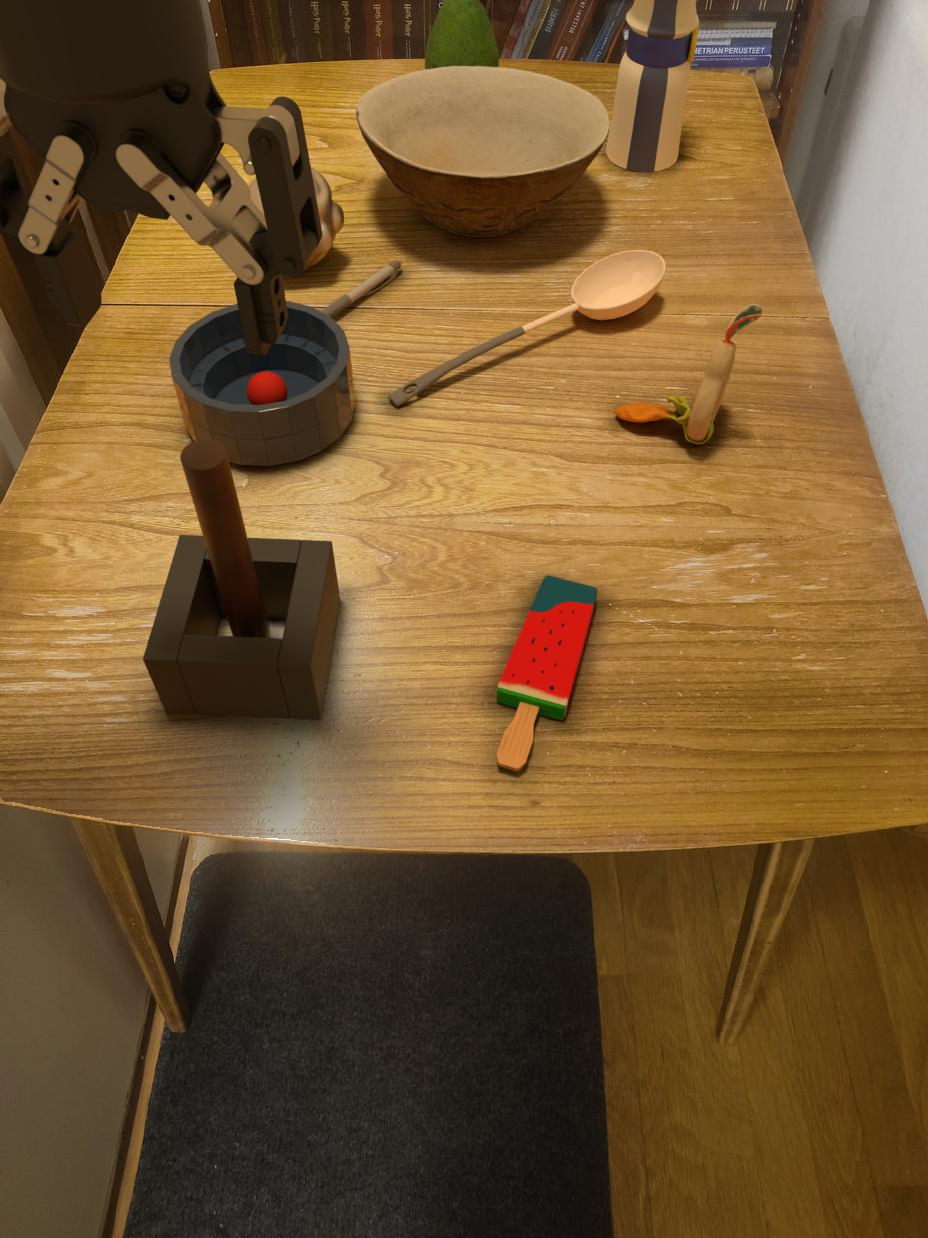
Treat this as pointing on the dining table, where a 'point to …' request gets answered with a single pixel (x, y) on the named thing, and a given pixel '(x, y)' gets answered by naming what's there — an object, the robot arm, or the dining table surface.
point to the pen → (364, 288)
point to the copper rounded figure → (328, 214)
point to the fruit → (461, 37)
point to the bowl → (482, 143)
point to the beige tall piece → (709, 393)
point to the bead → (266, 388)
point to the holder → (246, 666)
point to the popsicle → (544, 663)
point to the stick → (225, 536)
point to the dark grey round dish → (222, 367)
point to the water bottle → (653, 84)
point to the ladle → (574, 305)
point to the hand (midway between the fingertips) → (174, 329)
